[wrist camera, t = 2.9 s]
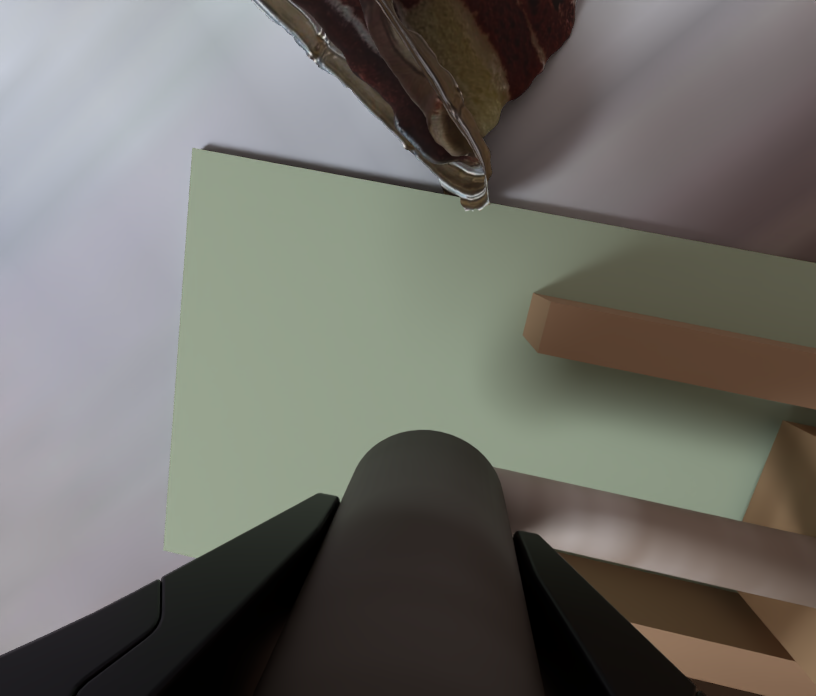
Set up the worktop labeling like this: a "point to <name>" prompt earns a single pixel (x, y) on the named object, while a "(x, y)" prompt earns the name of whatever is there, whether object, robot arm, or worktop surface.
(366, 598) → the sled
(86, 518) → the worktop surface
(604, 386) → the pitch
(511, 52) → the chocolate cake
